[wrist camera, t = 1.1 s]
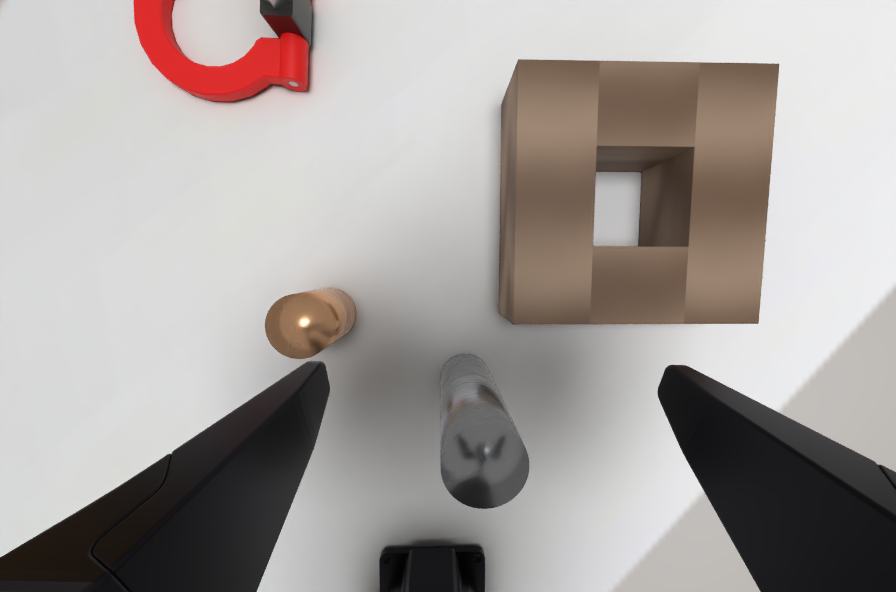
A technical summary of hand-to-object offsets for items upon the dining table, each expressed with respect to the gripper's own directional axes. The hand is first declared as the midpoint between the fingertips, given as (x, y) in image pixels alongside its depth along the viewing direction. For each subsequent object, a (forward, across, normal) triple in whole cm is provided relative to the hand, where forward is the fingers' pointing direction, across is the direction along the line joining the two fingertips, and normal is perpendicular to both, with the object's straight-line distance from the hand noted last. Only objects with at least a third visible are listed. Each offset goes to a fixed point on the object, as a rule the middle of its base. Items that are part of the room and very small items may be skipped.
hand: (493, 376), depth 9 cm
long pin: (+9, 0, +8) cm, 12 cm away
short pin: (+10, +8, +4) cm, 14 cm away
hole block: (+13, -8, -1) cm, 15 cm away
